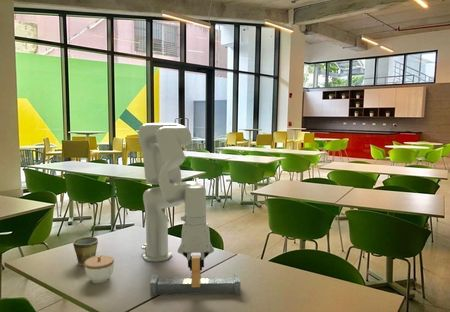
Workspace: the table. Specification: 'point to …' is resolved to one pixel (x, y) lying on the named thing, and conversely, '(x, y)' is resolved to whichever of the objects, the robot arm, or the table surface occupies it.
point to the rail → (186, 288)
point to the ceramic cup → (85, 248)
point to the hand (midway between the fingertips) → (196, 268)
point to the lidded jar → (99, 268)
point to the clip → (195, 271)
